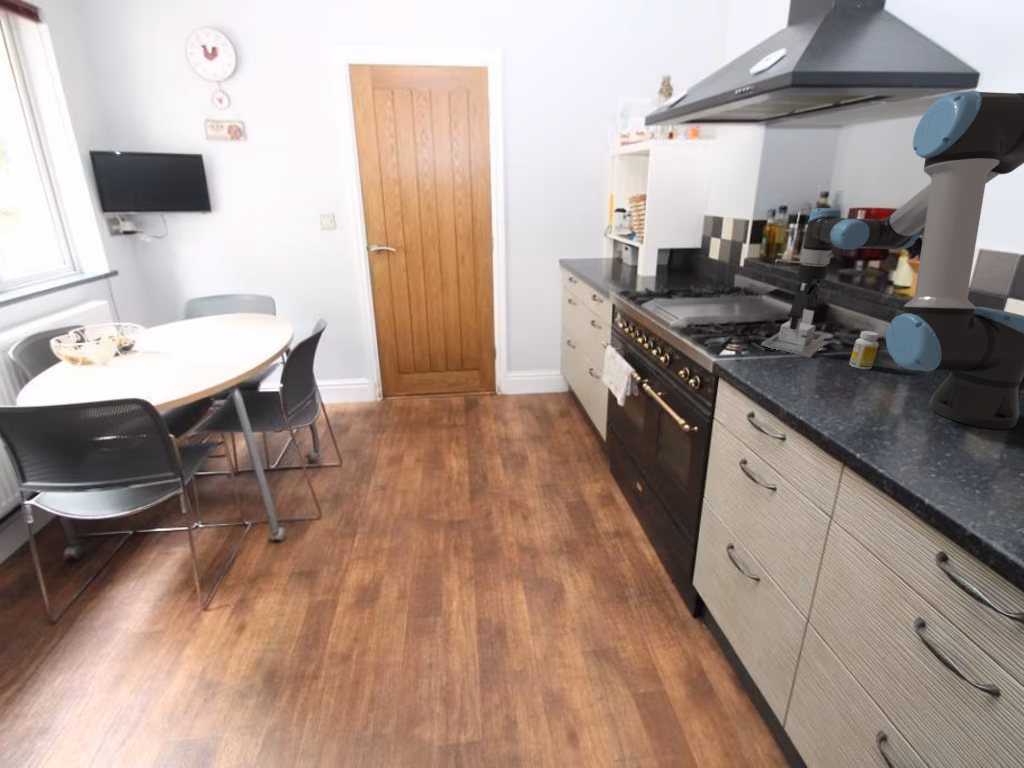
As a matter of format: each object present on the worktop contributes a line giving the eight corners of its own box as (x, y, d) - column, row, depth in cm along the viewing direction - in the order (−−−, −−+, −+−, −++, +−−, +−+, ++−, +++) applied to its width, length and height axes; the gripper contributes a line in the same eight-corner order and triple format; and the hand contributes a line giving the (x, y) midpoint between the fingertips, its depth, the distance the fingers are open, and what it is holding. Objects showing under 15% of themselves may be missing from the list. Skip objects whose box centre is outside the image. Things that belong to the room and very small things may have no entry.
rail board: (810, 357, 154) (812, 349, 153) (760, 346, 162) (762, 339, 161) (828, 343, 168) (830, 335, 167) (781, 333, 176) (783, 326, 175)
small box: (777, 340, 165) (780, 324, 163) (786, 335, 170) (789, 320, 168) (804, 346, 160) (808, 329, 158) (812, 341, 165) (816, 325, 163)
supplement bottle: (845, 365, 148) (854, 332, 144) (853, 361, 151) (862, 328, 148) (867, 371, 144) (877, 336, 141) (874, 367, 147) (884, 333, 144)
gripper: (816, 270, 145) (799, 346, 152) (839, 261, 162) (822, 329, 170) (786, 267, 149) (771, 340, 157) (811, 258, 167) (797, 325, 174)
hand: (798, 335), depth 163 cm, fingers open, 13 cm apart
